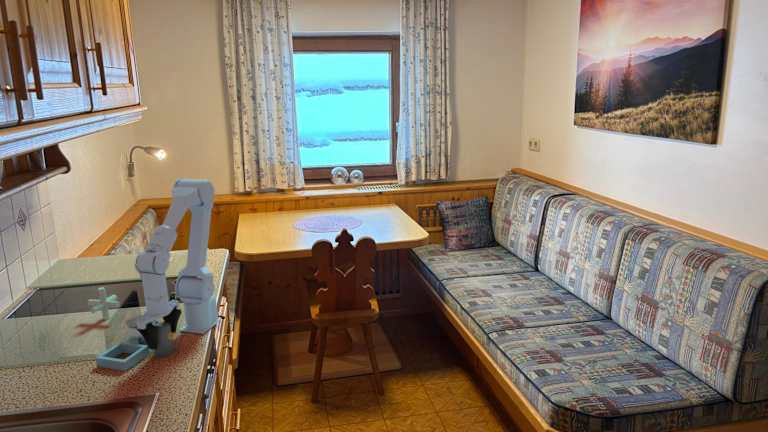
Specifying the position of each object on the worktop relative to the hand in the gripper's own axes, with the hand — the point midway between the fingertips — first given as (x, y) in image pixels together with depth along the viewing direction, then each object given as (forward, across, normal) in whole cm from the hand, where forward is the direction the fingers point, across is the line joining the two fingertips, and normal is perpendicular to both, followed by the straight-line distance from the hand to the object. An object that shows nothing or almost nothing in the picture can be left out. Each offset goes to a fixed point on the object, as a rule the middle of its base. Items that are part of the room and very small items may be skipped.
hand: (162, 342), depth 151 cm
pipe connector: (+3, -14, -32) cm, 35 cm away
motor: (+3, -4, -10) cm, 11 cm away
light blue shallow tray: (+3, +6, -8) cm, 10 cm away
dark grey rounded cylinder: (+3, 0, 0) cm, 3 cm away
